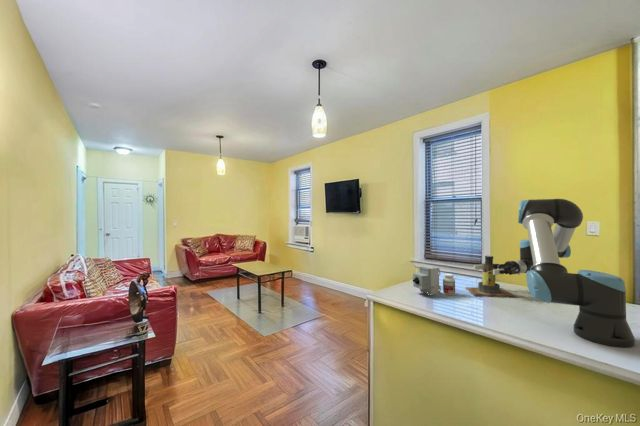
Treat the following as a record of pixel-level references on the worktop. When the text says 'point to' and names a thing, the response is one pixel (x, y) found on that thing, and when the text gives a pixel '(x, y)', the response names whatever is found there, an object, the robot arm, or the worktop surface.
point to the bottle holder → (489, 291)
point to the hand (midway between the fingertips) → (483, 269)
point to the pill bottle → (449, 284)
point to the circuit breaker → (427, 279)
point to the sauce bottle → (488, 272)
